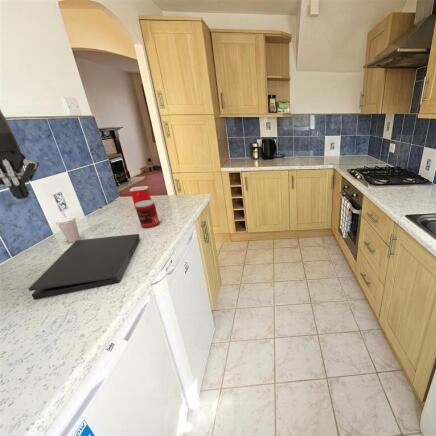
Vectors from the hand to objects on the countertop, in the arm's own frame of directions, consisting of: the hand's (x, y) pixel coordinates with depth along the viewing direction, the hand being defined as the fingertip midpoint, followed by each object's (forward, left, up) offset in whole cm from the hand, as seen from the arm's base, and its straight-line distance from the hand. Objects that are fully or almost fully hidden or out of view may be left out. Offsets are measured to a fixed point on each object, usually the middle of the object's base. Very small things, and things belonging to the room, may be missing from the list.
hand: (22, 198), depth 67 cm
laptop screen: (+8, +5, -25) cm, 26 cm away
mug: (+12, +63, -27) cm, 70 cm away
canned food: (+20, +35, -27) cm, 49 cm away
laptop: (+8, +5, -27) cm, 29 cm away
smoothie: (-8, +30, -27) cm, 41 cm away
